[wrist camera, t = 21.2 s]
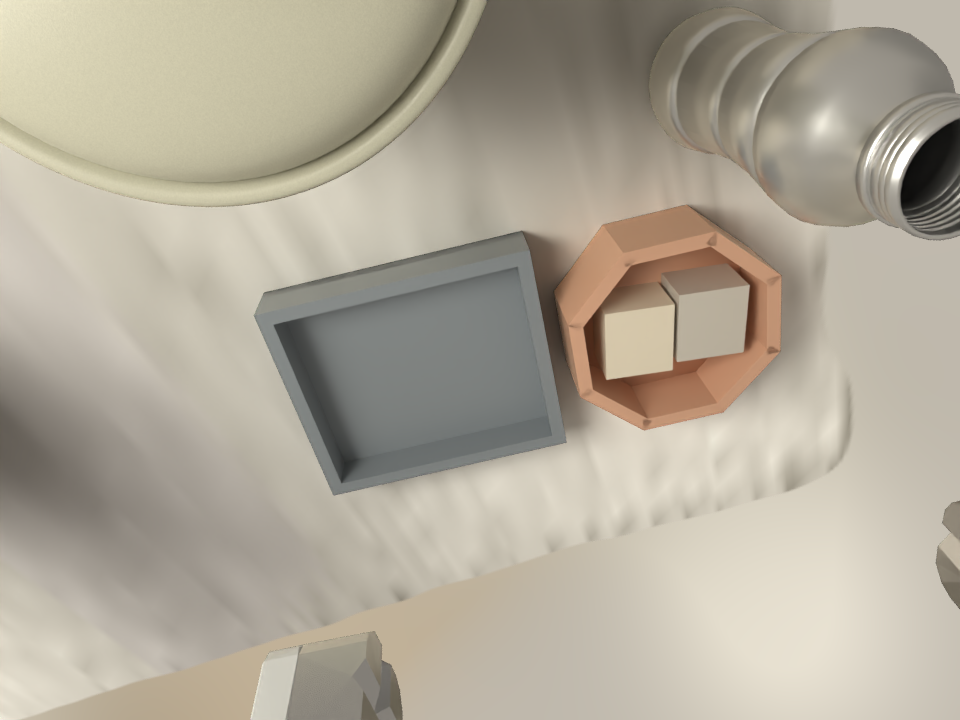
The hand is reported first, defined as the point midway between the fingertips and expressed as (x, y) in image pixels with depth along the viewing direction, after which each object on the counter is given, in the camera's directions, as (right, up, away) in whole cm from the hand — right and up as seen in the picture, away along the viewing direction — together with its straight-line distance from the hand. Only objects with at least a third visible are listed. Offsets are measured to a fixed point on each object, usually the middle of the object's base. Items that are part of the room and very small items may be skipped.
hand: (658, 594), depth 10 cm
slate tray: (-6, +3, +34) cm, 34 cm away
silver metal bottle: (+9, +19, +26) cm, 33 cm away
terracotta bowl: (+8, +7, +33) cm, 35 cm away
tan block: (+6, +6, +32) cm, 34 cm away
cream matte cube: (+11, +7, +32) cm, 35 cm away
